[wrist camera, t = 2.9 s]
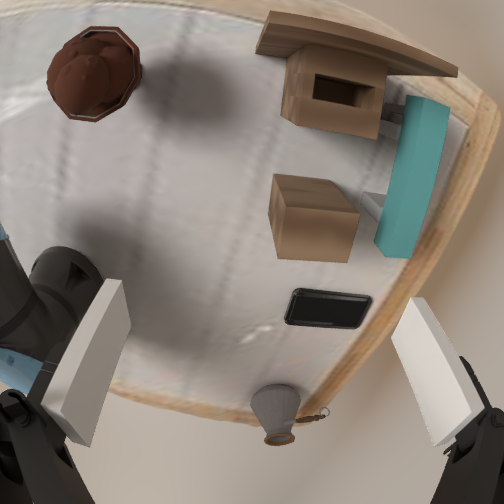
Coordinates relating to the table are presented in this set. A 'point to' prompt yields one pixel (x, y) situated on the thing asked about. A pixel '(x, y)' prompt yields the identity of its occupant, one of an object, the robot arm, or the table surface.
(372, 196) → the grey stand
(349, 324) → the phone
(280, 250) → the block
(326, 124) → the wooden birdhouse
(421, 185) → the teal rail
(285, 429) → the coffee pot
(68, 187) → the table surface
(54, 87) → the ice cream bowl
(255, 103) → the table surface
